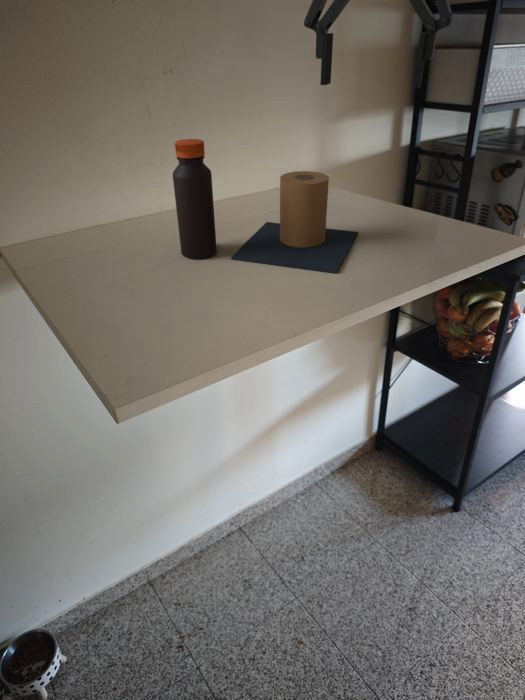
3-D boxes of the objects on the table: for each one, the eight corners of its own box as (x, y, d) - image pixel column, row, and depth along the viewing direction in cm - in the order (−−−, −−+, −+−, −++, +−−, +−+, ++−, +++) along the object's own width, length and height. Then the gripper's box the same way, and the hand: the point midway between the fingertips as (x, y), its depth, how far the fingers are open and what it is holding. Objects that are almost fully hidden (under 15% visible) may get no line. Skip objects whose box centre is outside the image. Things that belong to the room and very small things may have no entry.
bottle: (191, 263, 91) (179, 147, 80) (175, 251, 96) (162, 140, 85) (223, 254, 94) (216, 142, 83) (206, 243, 99) (198, 136, 88)
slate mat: (358, 234, 102) (358, 231, 102) (336, 273, 87) (337, 271, 86) (266, 224, 108) (266, 221, 108) (231, 259, 92) (230, 257, 92)
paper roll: (288, 169, 97) (273, 181, 90) (333, 172, 94) (322, 185, 87) (287, 229, 104) (273, 244, 97) (329, 233, 101) (318, 250, 94)
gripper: (282, -104, 63) (281, 85, 75) (495, -126, 54) (455, 91, 66) (303, -94, 69) (298, 80, 80) (498, -113, 60) (461, 85, 72)
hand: (369, 85), depth 73 cm, fingers open, 13 cm apart
